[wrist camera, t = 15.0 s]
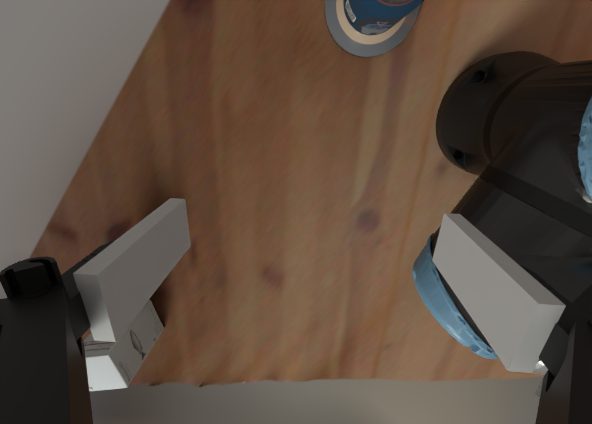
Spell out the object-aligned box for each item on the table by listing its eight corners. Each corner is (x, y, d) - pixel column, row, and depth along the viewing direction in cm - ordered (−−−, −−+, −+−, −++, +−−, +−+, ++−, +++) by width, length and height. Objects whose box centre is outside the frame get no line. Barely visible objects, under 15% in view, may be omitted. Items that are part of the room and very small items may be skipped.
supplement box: (166, 328, 57) (128, 389, 46) (131, 332, 58) (86, 393, 47) (152, 298, 55) (108, 355, 43) (116, 302, 55) (64, 359, 44)
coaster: (427, -52, 33) (431, -58, 31) (408, 59, 37) (411, 58, 36) (328, -55, 33) (329, -60, 32) (321, 55, 37) (321, 54, 36)
